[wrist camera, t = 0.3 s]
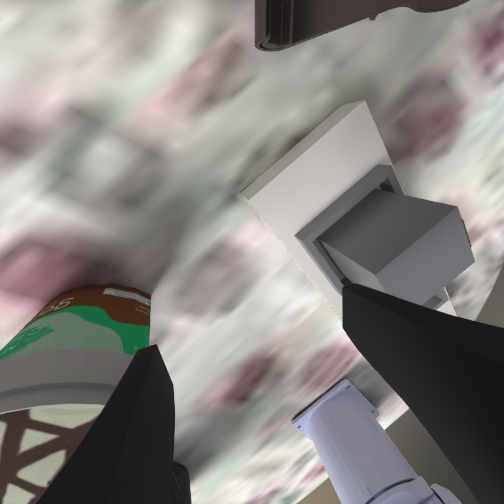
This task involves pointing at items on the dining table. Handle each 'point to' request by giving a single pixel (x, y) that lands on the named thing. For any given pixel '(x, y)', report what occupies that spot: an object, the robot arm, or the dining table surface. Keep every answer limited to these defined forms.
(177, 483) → the travel mug
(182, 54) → the dining table surface
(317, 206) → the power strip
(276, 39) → the portable electronic device stand
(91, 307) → the food container
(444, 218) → the block
